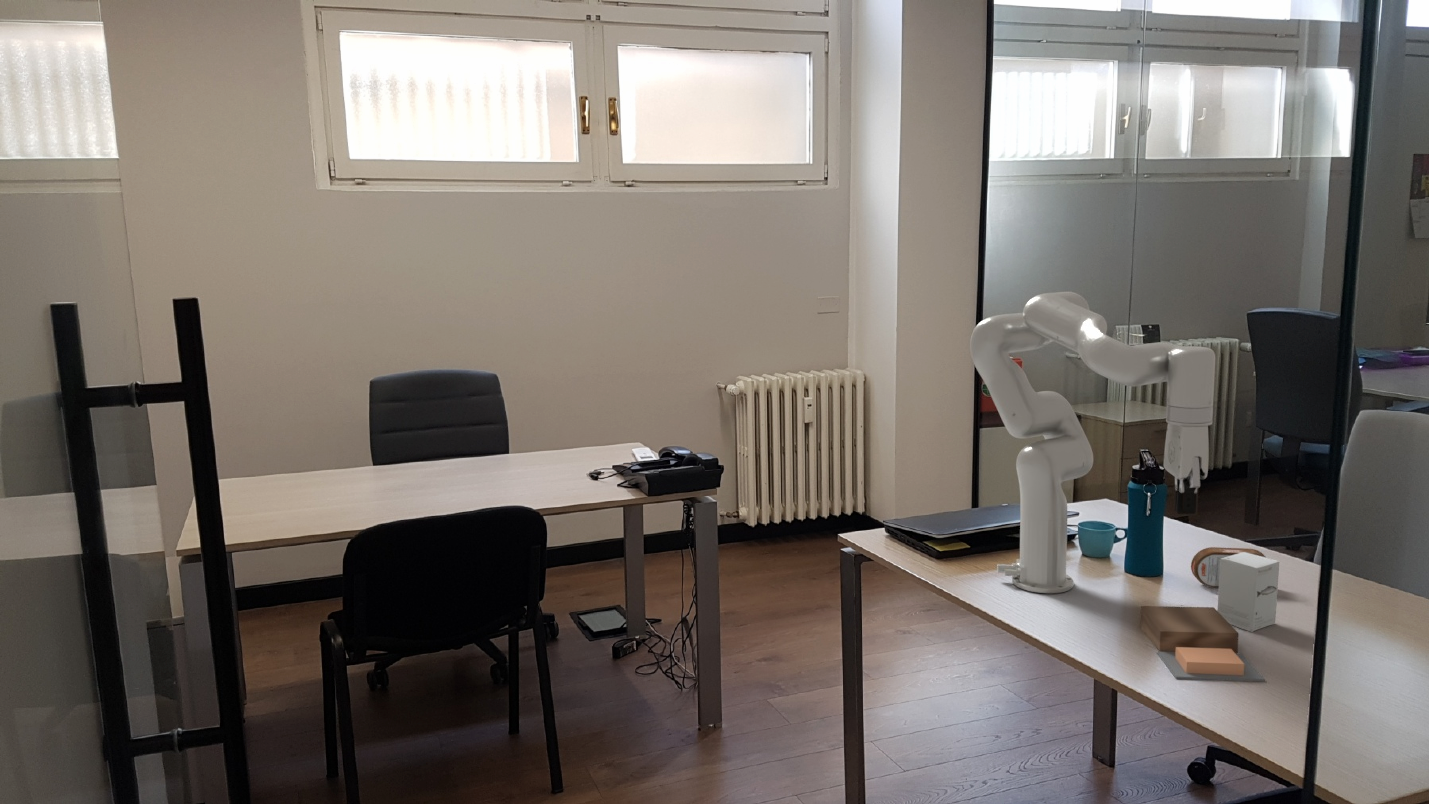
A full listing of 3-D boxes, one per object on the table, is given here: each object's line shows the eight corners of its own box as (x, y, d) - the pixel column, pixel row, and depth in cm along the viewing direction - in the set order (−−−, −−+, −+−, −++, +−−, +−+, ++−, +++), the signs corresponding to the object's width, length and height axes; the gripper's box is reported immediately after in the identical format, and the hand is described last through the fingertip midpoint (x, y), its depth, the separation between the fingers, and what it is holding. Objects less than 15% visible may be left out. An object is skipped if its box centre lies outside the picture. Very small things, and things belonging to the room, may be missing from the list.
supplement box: (1252, 633, 175) (1256, 568, 173) (1215, 619, 182) (1218, 557, 180) (1277, 624, 178) (1281, 560, 176) (1239, 611, 185) (1243, 550, 183)
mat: (1175, 678, 158) (1175, 676, 158) (1157, 653, 168) (1157, 651, 168) (1265, 681, 156) (1265, 679, 156) (1241, 655, 166) (1241, 653, 166)
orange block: (1175, 646, 165) (1175, 657, 165) (1186, 661, 159) (1186, 672, 159) (1231, 648, 163) (1230, 659, 164) (1244, 663, 158) (1243, 674, 158)
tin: (1266, 585, 198) (1269, 547, 197) (1272, 591, 195) (1274, 552, 193) (1189, 583, 201) (1191, 545, 200) (1193, 588, 198) (1195, 550, 197)
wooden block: (1159, 652, 168) (1160, 631, 168) (1140, 625, 180) (1140, 605, 180) (1237, 654, 166) (1238, 633, 166) (1212, 627, 178) (1213, 607, 178)
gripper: (1154, 408, 178) (1151, 501, 181) (1180, 422, 164) (1176, 524, 167) (1196, 407, 177) (1192, 501, 180) (1227, 422, 163) (1221, 524, 166)
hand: (1184, 512), depth 173 cm, fingers closed
